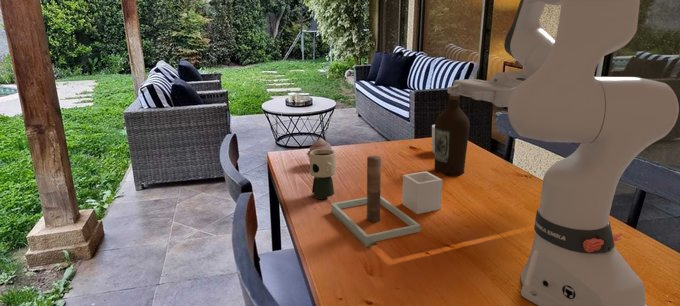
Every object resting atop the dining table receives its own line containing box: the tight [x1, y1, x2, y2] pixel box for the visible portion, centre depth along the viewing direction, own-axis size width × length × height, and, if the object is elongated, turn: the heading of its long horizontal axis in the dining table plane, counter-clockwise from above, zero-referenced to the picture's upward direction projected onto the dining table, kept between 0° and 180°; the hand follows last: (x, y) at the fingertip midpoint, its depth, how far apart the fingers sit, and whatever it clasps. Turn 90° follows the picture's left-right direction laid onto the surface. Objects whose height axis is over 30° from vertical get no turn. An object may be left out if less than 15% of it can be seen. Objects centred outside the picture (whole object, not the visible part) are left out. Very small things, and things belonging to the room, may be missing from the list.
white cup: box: [431, 124, 435, 155], centre depth 165 cm, size 8×8×10 cm
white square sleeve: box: [401, 170, 443, 215], centre depth 117 cm, size 7×7×9 cm
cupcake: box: [306, 137, 332, 158], centre depth 151 cm, size 9×9×10 cm
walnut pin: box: [366, 155, 382, 224], centre depth 108 cm, size 3×3×16 cm
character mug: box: [308, 149, 336, 200], centre depth 125 cm, size 11×7×13 cm, turn 26°
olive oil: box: [434, 94, 471, 177], centre depth 143 cm, size 11×11×25 cm
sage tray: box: [330, 195, 422, 248], centre depth 110 cm, size 20×14×2 cm
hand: (461, 93), depth 111 cm, fingers open, 8 cm apart
